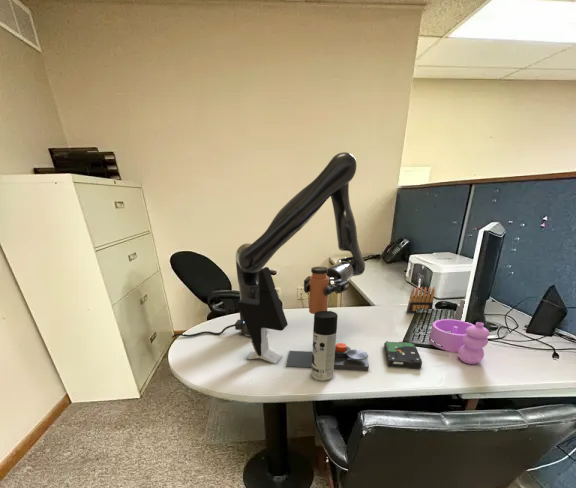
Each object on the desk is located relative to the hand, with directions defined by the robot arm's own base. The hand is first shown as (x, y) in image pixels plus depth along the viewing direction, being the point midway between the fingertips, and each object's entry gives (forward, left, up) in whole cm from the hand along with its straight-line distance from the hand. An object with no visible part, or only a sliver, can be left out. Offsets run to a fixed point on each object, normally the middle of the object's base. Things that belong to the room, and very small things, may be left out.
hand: (315, 290), depth 95 cm
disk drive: (+29, +8, -25) cm, 39 cm away
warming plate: (+14, +1, -21) cm, 25 cm away
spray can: (+3, -7, -25) cm, 26 cm away
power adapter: (+60, +44, -25) cm, 78 cm away
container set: (+50, +17, -25) cm, 59 cm away
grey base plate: (+10, +2, -24) cm, 27 cm away
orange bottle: (+1, +2, -7) cm, 8 cm away
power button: (+9, +5, -21) cm, 24 cm away
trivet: (-3, +3, -24) cm, 25 cm away
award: (-17, +3, -25) cm, 30 cm away
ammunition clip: (+45, +54, -25) cm, 75 cm away
